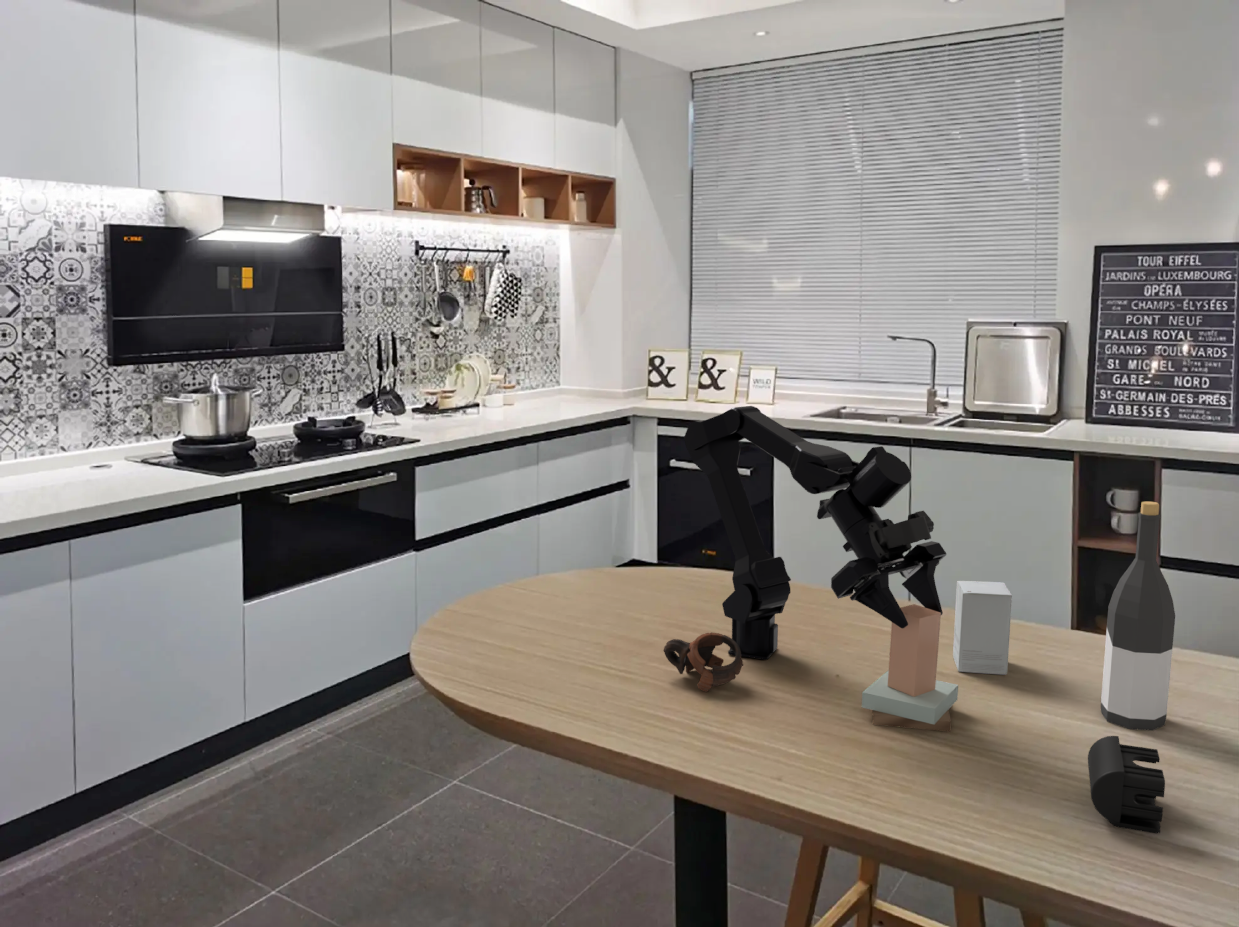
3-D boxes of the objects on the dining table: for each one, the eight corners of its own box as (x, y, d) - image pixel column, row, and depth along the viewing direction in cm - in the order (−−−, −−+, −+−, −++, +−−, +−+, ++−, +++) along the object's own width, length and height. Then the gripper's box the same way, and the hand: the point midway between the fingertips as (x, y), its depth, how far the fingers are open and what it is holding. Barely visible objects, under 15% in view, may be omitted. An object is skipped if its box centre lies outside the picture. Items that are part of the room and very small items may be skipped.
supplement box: (1008, 675, 159) (1013, 595, 157) (957, 672, 161) (961, 592, 159) (1000, 659, 166) (1005, 581, 164) (952, 655, 168) (956, 579, 166)
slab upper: (861, 707, 144) (862, 692, 144) (887, 684, 152) (888, 670, 152) (934, 724, 139) (935, 708, 138) (957, 699, 147) (958, 684, 146)
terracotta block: (887, 686, 146) (892, 609, 144) (908, 679, 148) (913, 604, 146) (913, 696, 142) (919, 618, 140) (935, 689, 145) (940, 612, 143)
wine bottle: (1162, 736, 138) (1182, 511, 133) (1095, 722, 142) (1112, 505, 137) (1168, 714, 145) (1187, 500, 140) (1104, 702, 149) (1120, 494, 144)
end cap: (1085, 785, 125) (1089, 731, 124) (1152, 795, 122) (1156, 740, 121) (1088, 825, 116) (1093, 767, 115) (1160, 837, 113) (1166, 778, 112)
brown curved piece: (739, 671, 163) (751, 636, 158) (728, 718, 156) (741, 683, 151) (664, 648, 164) (674, 612, 159) (650, 694, 157) (660, 658, 152)
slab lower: (872, 730, 142) (873, 714, 142) (872, 701, 152) (873, 687, 151) (949, 737, 140) (950, 721, 140) (945, 707, 149) (946, 693, 149)
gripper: (850, 502, 138) (916, 603, 131) (938, 485, 149) (1003, 578, 142) (804, 548, 146) (864, 646, 139) (891, 529, 157) (950, 619, 150)
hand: (922, 621), depth 142 cm, fingers open, 7 cm apart
